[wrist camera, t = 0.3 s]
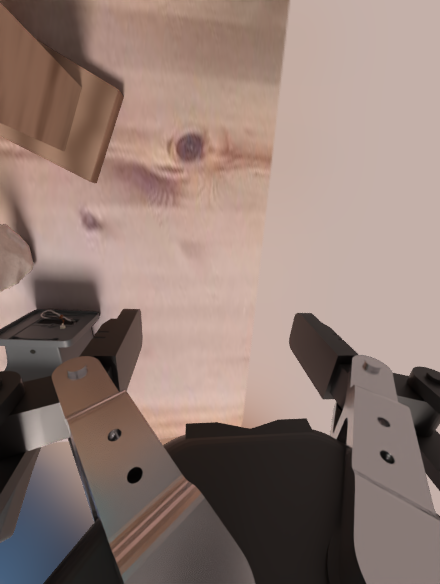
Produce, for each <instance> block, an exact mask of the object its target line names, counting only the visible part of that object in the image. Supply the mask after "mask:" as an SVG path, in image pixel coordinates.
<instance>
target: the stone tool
mask: <svg viewBox="0 0 440 584" xmlns="http://www.w3.org/2000/svg"><path fill="white" fill-rule="evenodd" d="M33 265H34V264H33V261H32V257H31V251H30V246H29V245H28V244H27V243H26V242H25V241H24V240H23V239H22V238H21V236H20V235H19V234H17V233H15V232H14V231H13V230H12V229H11V228H10V227H9V226H8V225H7V224H3V225H1V224H0V292H2V291H3V290H4V289H7V288H11V287H12V286H13V285H16V284H18V283H19V282H20V280H21V279H23V278H24V277H25V275H26V274H28V273H30V272H31V270H32V268H33Z"/></svg>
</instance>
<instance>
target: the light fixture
mask: <svg viewBox="0 0 440 584" xmlns="http://www.w3.org/2000/svg"><path fill="white" fill-rule="evenodd" d="M98 319H99V312H94V311H73V310H50V309H37V310H34V311H32V312H30V313H28V314H26V315H25V316H23V317H21V318H19V319H18V320H16V321H14V322H12V323H11V324H9V325H7V326H5V327H3V328H2V329H0V346H5V349H6V354H7V367H6V369H5V371H14V372H17V373H19V375H20V376H21V379H22V382H25V381H29V380H34V379H39V378H43V377H48V376H51V375H52V374H53V372H54V370H55V369H56V368H57V367H58V366H59V365H61V364H62V363H64V362H66V361H68V360H70V359H73V358H76V357H79V356H80V355H81V353H82V352H83V350H84V349H85V348H86V346H87V345H88V344H89V342H90V341H91V339H92V338H93V334H92V330H91V327H92V326H93V325H94V324H95V323H96V321H97V320H98ZM40 449H41V447H39V448H37V450H36V452H35V454H34V455H33V457H32V459H31V461H30V463H29V464H28V466H27V468H26V470H25V471H24V473H23V475H22V477H21V479H20V480H19V482H18V484H17V486H16V488H15V489H14V491H13V493H12V495H11V496H10V498H9V500H8V502H7V504H6V505H5V507H4V509H3V511H2V513H1V514H0V543H1V542H2V541H4V540H6V539H8V538H10V537H11V536H12V535H13V533H14V530H15V527H16V523H17V520H18V516H19V513H20V510H21V506H22V503H23V500H24V497H25V493H26V490H27V487H28V484H29V480H30V477H31V474H32V471H33V468H34V465H35V462H36V460H37V457H38V454H39V452H40Z"/></svg>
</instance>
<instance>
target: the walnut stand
mask: <svg viewBox="0 0 440 584" xmlns="http://www.w3.org/2000/svg"><path fill="white" fill-rule="evenodd" d="M122 101H123V95H122V94H121V93H120V91H119V90H118V89H117V88H115V87H114V86H112V85H110V84H109V83H107V82H105V81H104V80H102V79H100V78H99V77H97V76H96V75H94V74H92V73H91V72H89V71H87V70H86V69H84V68H82V67H81V66H79V65H77V64H76V63H74V62H72V61H71V60H69V59H68V58H66V57H64V56H63V55H61V54H59V53H58V52H56V51H54V50H53V49H51V48H49V47H48V46H46V45H45V44H43V43H41V42H40V41H38V40H36V39H35V38H34V37H33V36H32V35H31V34H30V33H29V32H28V31H27V30H26V29H25V28H24V27H23V26H22V25H21V23H20V22H19V21H18V20H17V19H16V18H15V17H14V16H13V15H12V14H11V13H10V12H9V11H8V10H7V9H6V8H5V7H4V6H3V5H2V4H1V3H0V136H1V137H3V138H5V139H7V140H9V141H11V142H13V143H15V144H17V145H19V146H21V147H23V148H25V149H27V150H29V151H31V152H33V153H35V154H37V155H39V156H41V157H43V158H45V159H47V160H49V161H51V162H52V163H54V164H56V165H58V166H60V167H62V168H64V169H66V170H68V171H70V172H72V173H74V174H76V175H78V176H80V177H82V178H84V179H86V180H88V181H90V182H93V183H97V180H98V177H99V174H100V171H101V167H102V164H103V161H104V158H105V155H106V151H107V148H108V145H109V142H110V139H111V136H112V132H113V129H114V126H115V123H116V120H117V117H118V113H119V110H120V107H121V104H122Z"/></svg>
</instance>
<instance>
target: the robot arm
mask: <svg viewBox="0 0 440 584" xmlns="http://www.w3.org/2000/svg"><path fill="white" fill-rule="evenodd" d="M289 344H290V348H291V350H292V352H293V353H294V355H295V356H296V358H297V360H298V361H299V363H300V364H301V366H302V367H303V369H304V370H305V372H306V373H307V375H308V377H309V378H310V380H311V381H312V383H313V384H314V386H315V388H316V389H317V390H318V392H319V394H320V396H321V397H322V398H323V399H335V400H336V403H335V406H334V410H333V417H332V425H331V431H330V436H329V435H327V434H325V433H322V432H319V431H316V430H312V429H311V427H310V425H309V423H308V421H307V419H285V420H277V421H273V422H270V423H267V424H264V425H261V426H258V427H255V428H252V429H248V428H242V427H238V426H233V425H228V424H223V423H218V422H215V423H192V424H186V435H183V436H180V437H178V438H175V439H173V440H171V441H170V442H168V443H166V444H165V445H162V443H161V442H160V440H159V439H158V437H157V436H156V434H155V433H154V431H153V430H152V429H151V427H150V426H149V424H148V423H147V421H146V420H145V418H144V417H143V415H142V414H141V412H140V411H139V409H138V408H137V406H136V405H135V403H134V402H133V400H132V399H131V397H130V396H129V394H128V393H127V392H126V391H127V388H128V385H129V382H130V379H131V376H132V374H133V371H134V368H135V365H136V362H137V359H138V356H139V353H140V351H141V347H142V322H141V311H140V309H123V310H122V312H121V313H120V315H119V316H118V318H117V319H110V320H108V321H107V322H105V323H104V324H102V325H101V327H100V328H99V330H98V331H97V333H96V334H95V335H94V337H93V338H92V339H91V341H90V342H89V344H88V345H87V346H86V348H85V349H84V350H83V352H82V353H81V355H80V356H79V357H76V358H73V359H70V360H68V361H66V362H64V363H62V364H61V365H59V366H58V367H57V368H56V369H55V370H54V372H53V374H52V375H51V376H48V377H43V378H39V379H34V380H29V381H25V382H22V379H21V376H20V375H19V373H17V372H14V371H1V372H0V514H1V513H2V511H3V509H4V507H5V505H6V504H7V502H8V500H9V498H10V496H11V495H12V493H13V491H14V489H15V488H16V486H17V484H18V482H19V480H20V479H21V477H22V475H23V473H24V471H25V470H26V468H27V466H28V464H29V463H30V461H31V459H32V457H33V455H34V454H35V452H36V450H37V448H39V447H42V446H45V445H48V444H51V443H54V442H57V441H60V440H63V439H67V438H68V441H69V444H70V447H71V450H72V453H73V456H74V459H75V463H76V466H77V469H78V472H79V475H80V478H81V481H82V485H83V488H84V491H85V495H86V498H87V502H88V505H89V508H90V511H91V515H92V518H93V521H94V524H93V525H92V526H91V527H90V528H89V530H88V531H87V532H86V533H85V534H84V536H83V537H82V538H81V539H80V541H79V542H78V543H77V544H76V545H75V546H74V548H73V549H72V550H71V551H70V552H69V554H68V555H67V556H66V557H65V558H64V560H63V561H62V562H61V563H60V564H59V566H58V567H57V568H56V569H55V570H54V571H53V573H52V574H51V575H50V576H49V577H48V579H47V580H46V581H45V582H44V583H43V584H440V516H439V515H438V514H436V512H435V510H434V506H433V503H432V499H431V494H430V490H429V486H428V482H427V478H426V474H427V475H428V477H429V478H430V479H431V480H432V482H433V483H434V484H435V485H436V487H437V488H438V489H439V491H440V434H439V433H438V432H436V428H437V427H438V425H439V424H440V372H437V371H435V370H432V369H429V368H425V367H415V368H413V370H412V372H411V373H410V375H409V376H405V375H400V374H396V373H392V371H391V370H390V368H389V367H388V366H387V365H385V364H384V363H382V362H381V361H379V360H377V359H375V358H372V357H369V356H364V355H358V354H357V353H356V352H355V351H354V350H353V349H352V348H351V347H350V346H349V345H348V344H347V343H346V342H345V341H344V340H342V338H341V337H339V335H337V334H336V333H335V332H334V331H333V330H332V329H331V328H330V327H328V326H327V325H325V324H323V323H321V322H320V321H319V320H318V319H317V318H316V317H315V316H314V315H313V314H312V313H297V314H296V315H295V317H294V322H293V325H292V330H291V334H290V338H289Z"/></svg>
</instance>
